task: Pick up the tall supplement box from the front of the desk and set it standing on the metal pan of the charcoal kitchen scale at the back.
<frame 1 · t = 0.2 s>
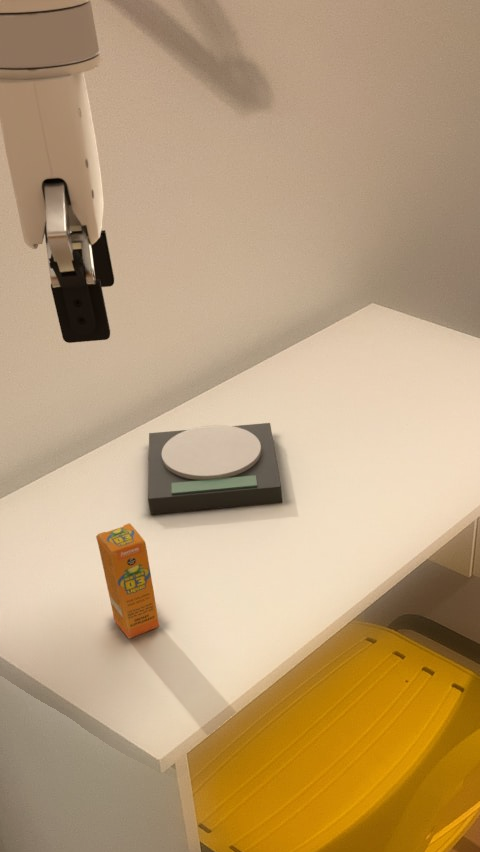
hand: (91, 311, 70), 29 cm above the table, tool pointing down, fingers open, 9 cm apart
scale: (214, 474, 108), on the table
supplement box: (138, 626, 88), on the table
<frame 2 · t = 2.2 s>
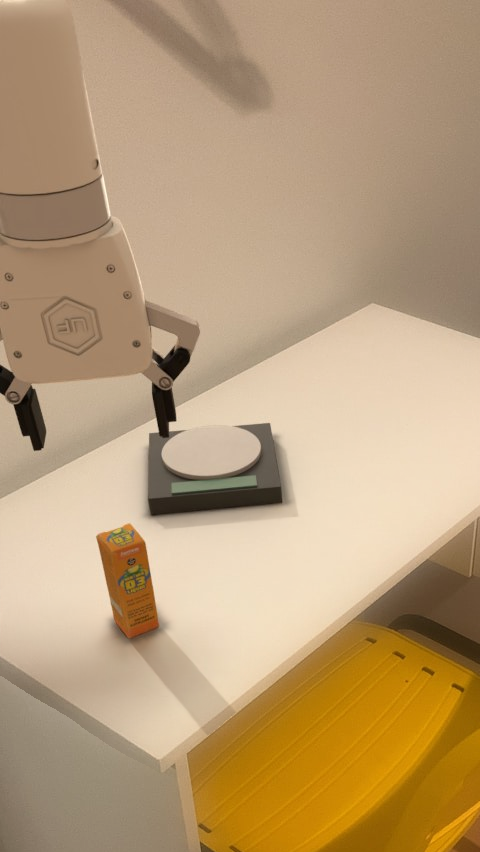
hand: (103, 435, 75), 19 cm above the table, tool pointing down, fingers open, 9 cm apart
nothing on the table moved.
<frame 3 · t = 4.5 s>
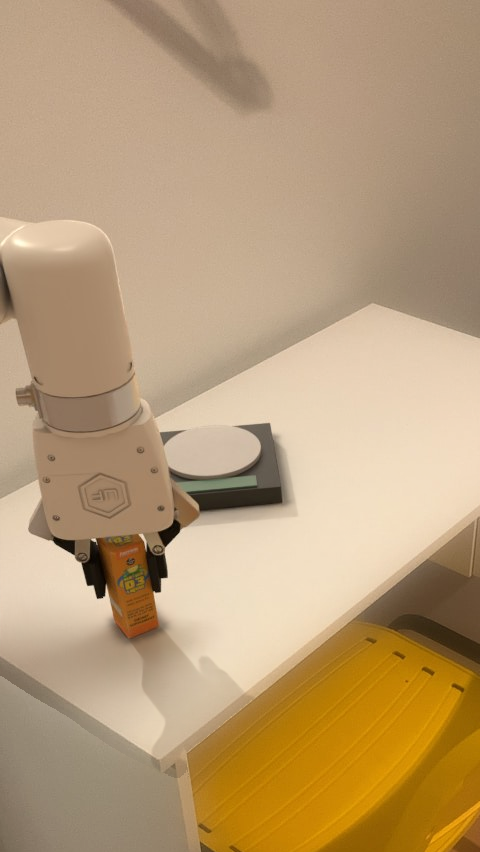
hand: (129, 584, 85), 5 cm above the table, tool pointing down, fingers closed on supplement box, 4 cm apart
supplement box: (138, 626, 88), on the table, touching gripper
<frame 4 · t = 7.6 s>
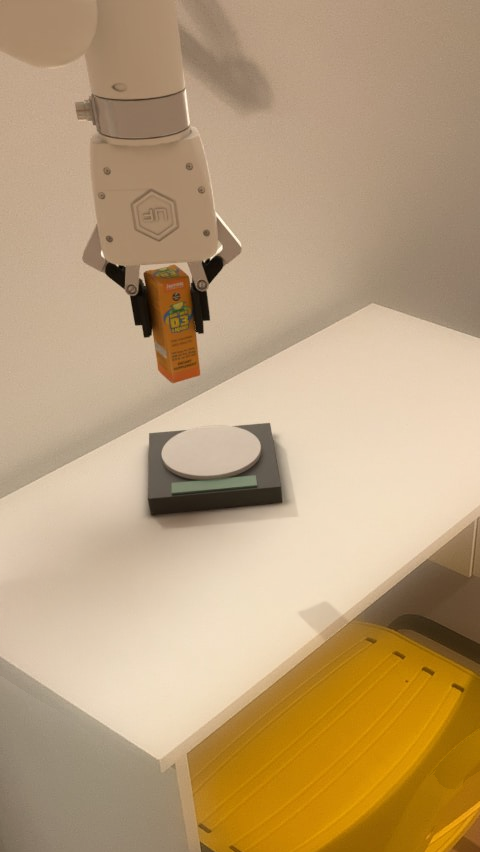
hand: (173, 327, 91), 19 cm above the table, tool pointing down, fingers closed on supplement box, 4 cm apart
supplement box: (181, 376, 94), point 15 cm above the table, touching gripper
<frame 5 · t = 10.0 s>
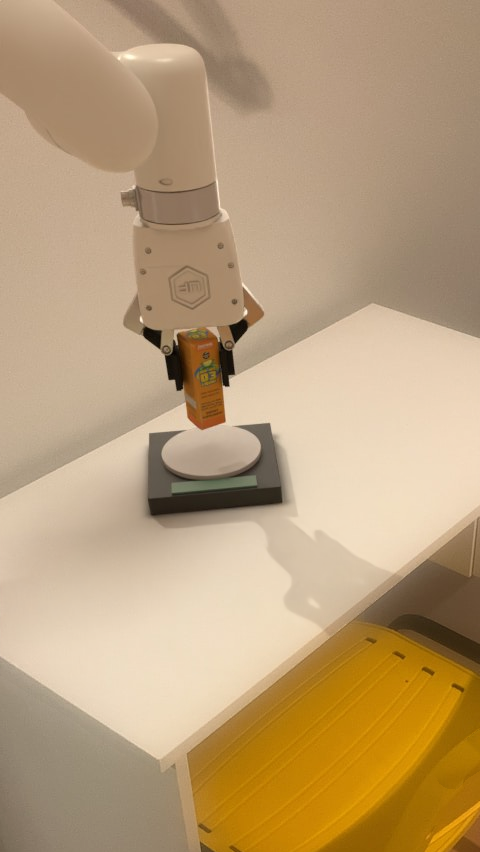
hand: (202, 381, 101), 11 cm above the table, tool pointing down, fingers closed on supplement box, 4 cm apart
supplement box: (208, 423, 104), point 6 cm above the table, touching gripper
when the fingers open (7 cm above the table, at t = 11.2 s): supplement box stays where it is, resting on scale.
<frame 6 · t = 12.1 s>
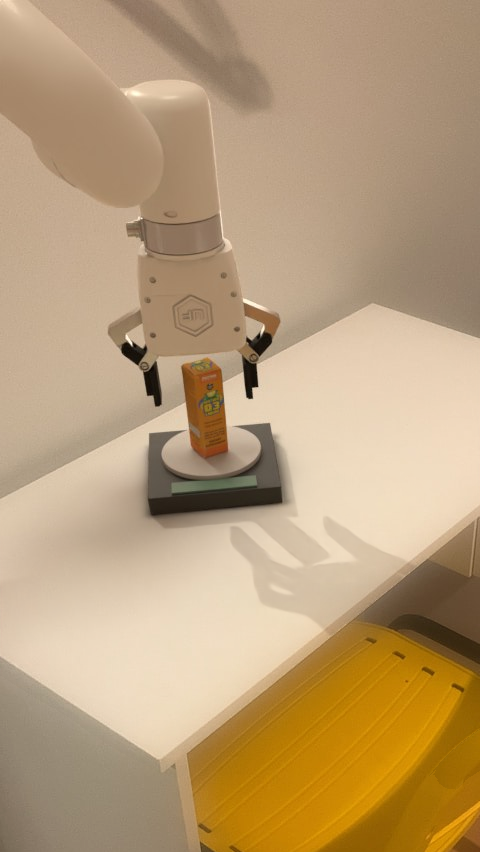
hand: (204, 397, 102), 9 cm above the table, tool pointing down, fingers open, 9 cm apart
supplement box: (211, 451, 107), point 2 cm above the table, touching scale
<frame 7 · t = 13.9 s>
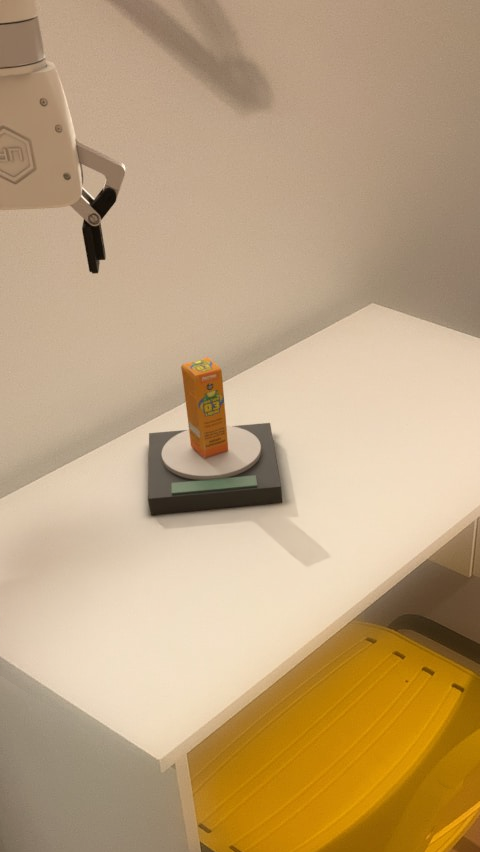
hand: (39, 270, 85), 26 cm above the table, tool pointing down, fingers open, 9 cm apart
nothing on the table moved.
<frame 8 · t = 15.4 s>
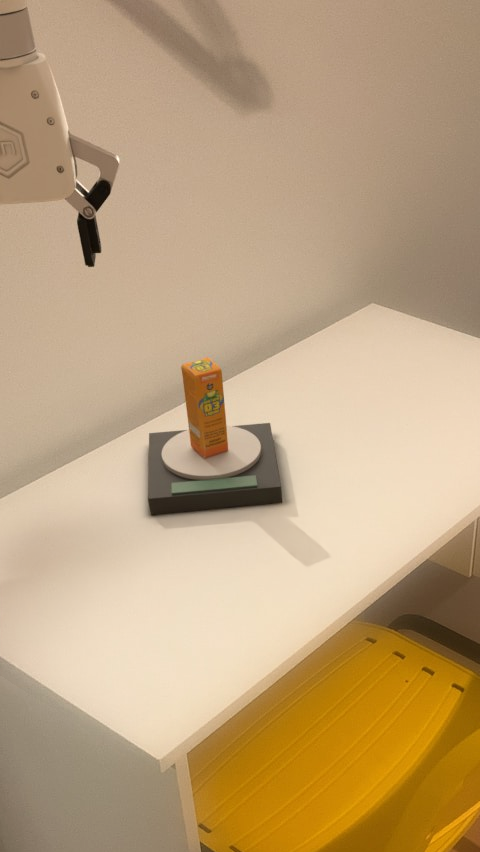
hand: (35, 265, 84), 26 cm above the table, tool pointing down, fingers open, 9 cm apart
nothing on the table moved.
at the end: supplement box inside the target area on the scale (0.1 cm from its centre), point 2.4 cm above the scale's base; supplement box tilted 0°; the gripper is holding nothing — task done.
